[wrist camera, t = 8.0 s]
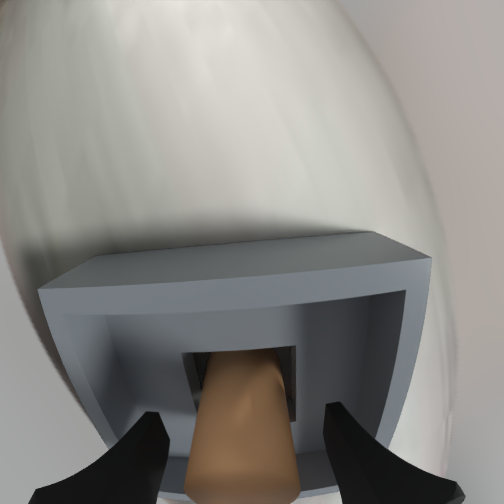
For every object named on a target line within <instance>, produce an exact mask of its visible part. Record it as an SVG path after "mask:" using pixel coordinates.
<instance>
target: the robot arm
mask: <svg viewBox="0 0 504 504" xmlns="http://www.w3.org/2000/svg"><path fill="white" fill-rule="evenodd" d="M323 437H324V442H325V447H326V452H327V455H328V458H329V461H330V464H331V467H332V470H333V473H334V476H335V478H336V481H337V484H338V487H339V490H340V494H341V498H342V503H343V504H461V503H462V502H463V501H464V499H465V495H464V493H463V491H462V489H461V488H460V486H459V485H458V484H457V482H455V481H452V480H448V479H445V478H441V477H438V476H435V475H433V474H430V473H428V472H426V471H423V470H421V469H419V468H417V467H415V466H413V465H412V464H410V463H408V462H406V461H404V460H403V459H401V458H400V457H398V456H397V455H395V454H394V453H392V452H391V451H389V450H388V449H387V448H385V447H384V446H383V445H382V444H381V443H379V442H378V441H377V440H376V439H375V438H374V437H373V436H371V435H370V434H369V433H368V432H367V431H366V430H365V429H364V428H363V427H362V426H361V425H360V424H359V423H358V422H357V420H356V419H355V418H354V417H353V416H352V415H351V414H350V412H349V411H348V410H347V409H346V408H345V406H344V405H343V404H342V403H341V402H340V401H338V402H333V403H327V404H326V406H325V416H324V425H323ZM169 447H170V438H169V436H168V433H167V431H166V429H165V426H164V424H163V421H162V419H161V416H160V414H159V412H151V411H146V412H145V413H144V414H143V415H142V416H141V417H140V418H139V420H138V421H137V422H136V423H135V424H134V425H133V426H132V427H131V428H130V429H129V431H128V432H127V433H126V434H125V435H124V436H123V437H122V438H121V439H120V440H119V441H118V442H117V443H116V444H115V445H114V446H113V447H112V448H111V449H109V450H108V451H107V452H106V453H105V454H104V455H103V456H101V457H100V458H99V459H98V460H96V461H95V462H94V463H92V464H91V465H89V466H88V467H86V468H85V469H83V470H81V471H79V472H78V473H76V474H74V475H72V476H70V477H68V478H66V479H64V480H62V481H59V482H57V483H54V484H51V485H48V486H45V487H42V488H38V489H36V490H35V492H34V494H33V495H32V497H31V499H30V501H29V503H28V504H156V501H157V497H158V493H159V489H160V485H161V482H162V478H163V475H164V471H165V468H166V464H167V460H168V455H169Z"/></svg>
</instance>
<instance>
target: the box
mask: <svg viewBox="0 0 504 504" xmlns="http://www.w3.org/2000/svg"><path fill="white" fill-rule="evenodd" d="M431 262H432V257H430V256H427V255H425V254H423V253H421V252H419V251H417V250H415V249H412V248H410V247H408V246H406V245H404V244H401V243H399V242H397V241H395V240H392V239H390V238H388V237H386V236H383V235H381V234H379V233H376V232H363V233H349V234H336V235H323V236H311V237H298V238H286V239H274V240H262V241H250V242H239V243H227V244H216V245H205V246H194V247H183V248H172V249H161V250H151V251H140V252H130V253H120V254H110V255H100V256H94V257H93V258H91V259H89V260H87V261H85V262H83V263H82V264H80V265H78V266H76V267H74V268H73V269H71V270H69V271H67V272H66V273H64V274H62V275H60V276H59V277H57V278H55V279H54V280H52V281H50V282H48V283H47V284H45V285H43V286H42V287H40V288H38V289H37V290H38V294H39V297H40V301H41V304H42V307H43V310H44V314H45V317H46V320H47V323H48V326H49V329H50V331H51V334H52V337H53V340H54V342H55V345H56V347H57V350H58V353H59V355H60V357H61V360H62V362H63V365H64V367H65V369H66V371H67V374H68V376H69V378H70V380H71V382H72V385H73V387H74V389H75V391H76V393H77V395H78V397H79V399H80V401H81V403H82V405H83V406H84V408H85V410H86V412H87V414H88V416H89V417H90V419H91V421H92V423H93V424H94V426H95V428H96V430H97V431H98V433H99V435H100V436H101V438H102V439H103V441H104V443H105V444H106V446H107V447H108V449H111V448H112V447H113V446H114V445H115V444H116V443H117V442H118V441H119V440H120V439H121V438H122V437H123V436H124V435H125V434H126V433H127V432H128V431H129V429H130V428H131V427H132V426H133V425H134V424H135V423H136V422H137V421H138V420H139V418H140V417H141V416H142V415H143V414H144V413H145V412H146V411H151V412H159V414H160V416H161V419H162V421H163V424H164V426H165V429H166V431H167V433H168V436H169V438H170V447H169V455H168V460H167V464H166V468H165V471H164V475H163V478H162V482H161V485H160V489H159V493H158V497H160V498H167V499H176V500H185V501H192V500H191V499H190V498H189V497H188V496H187V495H186V494H185V492H184V483H185V477H186V471H187V466H188V461H189V455H190V450H191V444H192V439H193V434H194V429H195V424H196V418H197V413H198V408H199V403H200V398H201V393H202V390H201V386H200V382H199V377H198V373H197V369H196V365H195V360H194V356H193V352H216V351H235V350H250V349H262V348H273V347H284V346H291V378H292V398H291V399H286V401H287V407H288V413H289V419H290V425H291V431H292V437H293V443H294V449H295V456H296V462H297V468H298V474H299V480H300V487H301V492H300V495H299V496H298V498H304V497H311V496H317V495H323V494H328V493H333V492H338V491H340V490H339V487H338V484H337V481H336V478H335V476H334V473H333V470H332V467H331V464H330V461H329V458H328V455H327V452H326V447H325V442H324V437H323V425H324V416H325V406H326V404H327V403H333V402H338V401H340V402H341V403H342V404H343V405H344V406H345V408H346V409H347V410H348V411H349V412H350V414H351V415H352V416H353V417H354V418H355V419H356V420H357V422H358V423H359V424H360V425H361V426H362V427H363V428H364V429H365V430H366V431H367V432H368V433H369V434H370V435H371V436H373V437H374V438H375V439H376V440H377V441H378V442H379V443H381V444H382V445H383V446H384V447H385V448H387V449H388V447H389V445H390V442H391V439H392V437H393V434H394V432H395V429H396V426H397V423H398V420H399V418H400V415H401V412H402V408H403V405H404V402H405V399H406V396H407V392H408V389H409V385H410V382H411V378H412V374H413V370H414V366H415V362H416V358H417V354H418V349H419V345H420V340H421V335H422V330H423V324H424V318H425V312H426V306H427V299H428V291H429V283H430V273H431Z"/></svg>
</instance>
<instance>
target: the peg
mask: <svg viewBox="0 0 504 504" xmlns="http://www.w3.org/2000/svg"><path fill="white" fill-rule="evenodd" d="M184 492H185V494H186V495H187V496H188V497H189V498H190V499H191V500H192V501H194V502H195V503H197V504H290V503H292V502H293V501H294V500H296V499H297V498H298V496H299V495H300V492H301V487H300V480H299V474H298V468H297V462H296V456H295V449H294V443H293V437H292V431H291V425H290V419H289V413H288V407H287V401H286V395H285V389H284V383H283V377H282V371H281V365H280V361H279V358H278V356H277V354H276V353H275V352H274V351H273V350H272V349H271V348H262V349H250V350H235V351H216V352H212V353H211V355H210V357H209V359H208V364H207V369H206V373H205V378H204V383H203V388H202V393H201V398H200V403H199V408H198V413H197V418H196V424H195V429H194V434H193V439H192V444H191V450H190V455H189V461H188V466H187V471H186V477H185V483H184Z"/></svg>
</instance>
